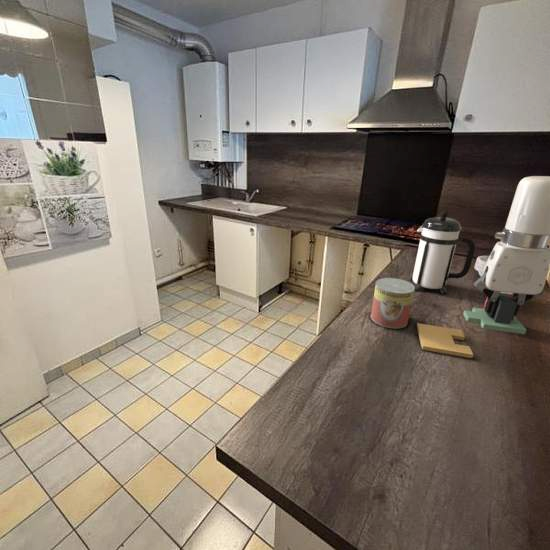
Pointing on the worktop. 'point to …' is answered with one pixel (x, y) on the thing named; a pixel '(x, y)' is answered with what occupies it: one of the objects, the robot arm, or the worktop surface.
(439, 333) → the sand pad
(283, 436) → the worktop surface
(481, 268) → the paper bowls
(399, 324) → the canned food
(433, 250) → the coffee press
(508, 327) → the sage pad
